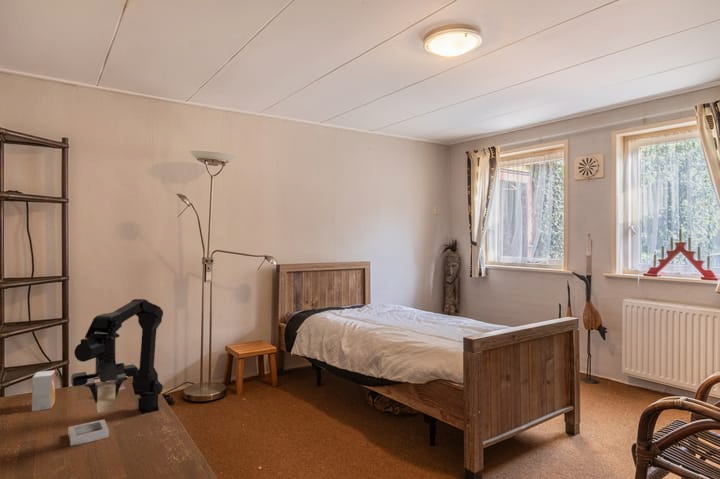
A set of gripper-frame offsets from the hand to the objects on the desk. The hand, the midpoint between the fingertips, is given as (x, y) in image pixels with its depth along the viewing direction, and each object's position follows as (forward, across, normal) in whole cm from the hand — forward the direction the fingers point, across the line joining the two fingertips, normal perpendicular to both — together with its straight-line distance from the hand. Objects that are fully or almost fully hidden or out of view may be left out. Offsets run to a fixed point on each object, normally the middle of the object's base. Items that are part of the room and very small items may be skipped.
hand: (105, 400), depth 145 cm
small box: (+12, -14, +46) cm, 49 cm away
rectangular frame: (+12, -4, +4) cm, 14 cm away
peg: (+3, 0, 0) cm, 3 cm away
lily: (+12, +8, +42) cm, 44 cm away
